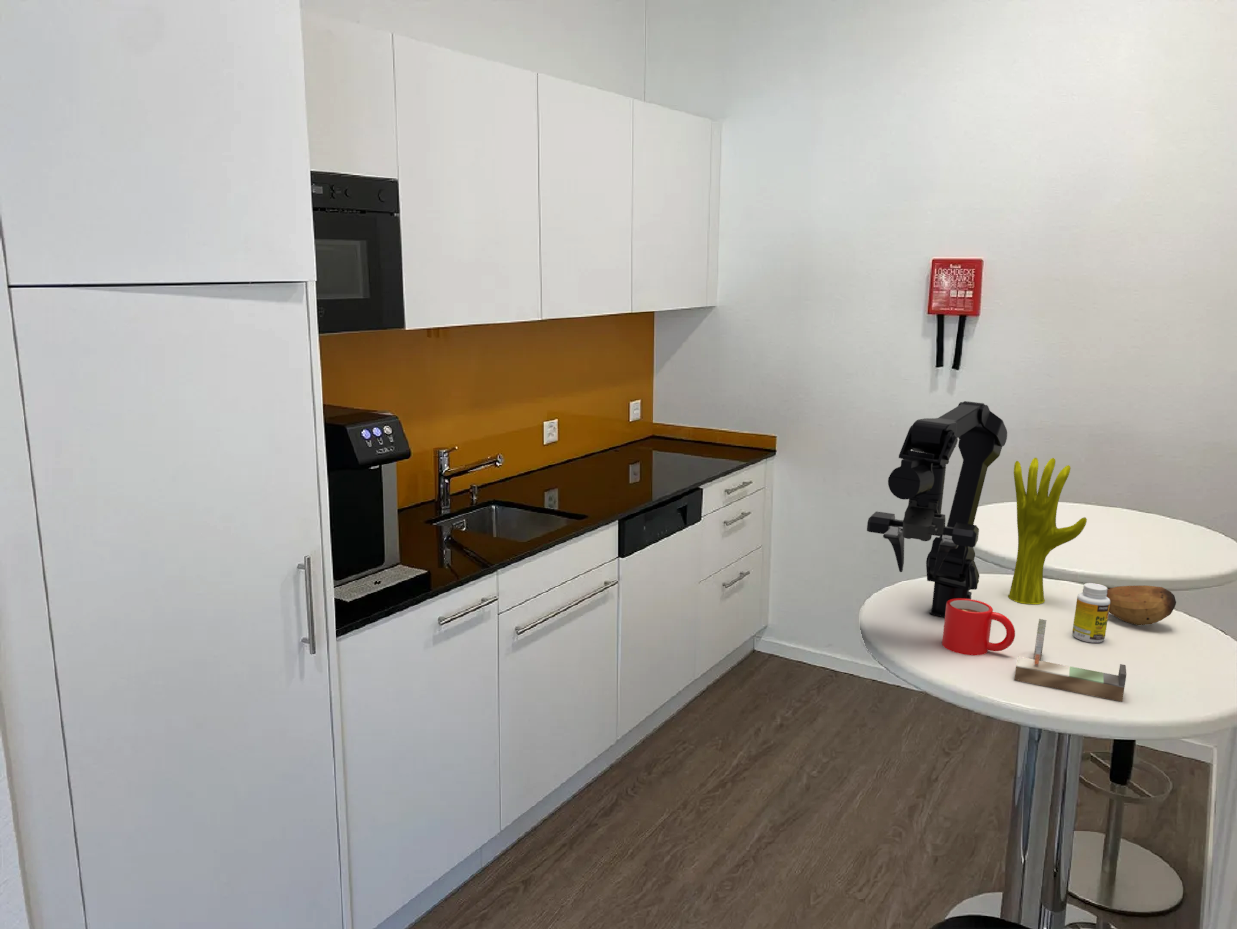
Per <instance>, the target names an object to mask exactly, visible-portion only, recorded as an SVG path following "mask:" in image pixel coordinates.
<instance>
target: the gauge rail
mask: <svg viewBox="0 0 1237 929" xmlns="http://www.w3.org/2000/svg"><path fill="white" fill-rule="evenodd" d="M1015 664H1016V666H1015V671H1014V681H1017V682H1023V683H1027V684H1032V685H1037V686H1040V687H1041V686H1043V687H1047V688H1052V689H1056V690H1063V691H1067V692H1072V693H1076V694H1081V695H1087V696H1092V697H1097V698H1101V699H1107V700H1111V701H1116V702H1123V700H1124V694H1125V687H1126V682H1127V666H1126V664H1123V663H1120V664H1119V668H1118V669H1119V670H1118V675H1117V674H1113V673H1107V672H1102V671H1096V670H1091V669H1086V668H1083V667H1082V668H1081V667H1075V666H1070V665H1064V664H1060V663H1056V662H1050V661H1049V662H1048V661H1043V660H1041V661H1040V660H1039V664H1035V660H1034V658H1028V657H1023V656H1017V659H1016V663H1015Z"/></svg>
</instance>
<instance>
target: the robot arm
mask: <svg viewBox="0 0 1237 929" xmlns="http://www.w3.org/2000/svg"><path fill="white" fill-rule="evenodd" d="M989 407H990V406H989V405H988V404H985V403H983V402H974V401H961V402H959V403H958V405H957V406H956V407H954V408H952V409H951V410H949V411H947V412H946V413H944V414H943V415H940V416H939V417H936V418H920V419H917V420H915V421H914V422H913V424H912V425H911V426H910V427H909V429H908V431H907V434H906V437H905V439H904V442H903V444H902V446H901V448H900V452H899V454H898V459H901V461H900V466H898V467H896V468H894V469H893V470H892V471H891V472H890V474H889V476H888V479H887V484H888V486H887V487H888V488H889V490H890V493H892V494H893V496H894V497H896V498H898V499H899V500H908V505H907V507H906V510H905V512H904V517H903V519H896V516H895V513H891V512H890V513H889V512H883V511H878V510H877V511H875V512H874V513H873V514H871V515H870V516H869V517H868V519H867V525H866V531H867V533H875V534H881V535H882V538H883V539H884V540H885V539H886V540H888V541H889V543H890V544H891V547H892V549H893V552H894V555H895V559H896V563H897V568H898V570H899V571H898V572H900V573H902V572H904V571H903V570H904V563H905V539H907V540H911V539H915V540H919V541H921V542H929V541H931V539H932V536H936V537H934V539H933V540H932V544H931V549H930V551H929V552H928V554H927V557H926V561H925V564H926V565H925V566H926V568H925V570H926V581H927V582H932V583H933V582H934V585H933V592H932V593H933V594H932V602H931V603H932V604H931V609H930V611H929V615H931V616H937V617H943V618H945V611H946V603H947V601H948V600H950V599H956V598H964V599H972V594H973V592H972V591H973V590H977V589H978V585H979V582H980V581H979V580H980V573H979V570H978V567H977V564H976V562H975V556H976V551H975V549H974V548H975V547H976V546H977V542H978V540H979V533H980V529H979V527H978V526H977V525H975V524H974V523H975V520H976V517H977V512H978V507H979V503H980V499H981V495H982V491H983V488H984V484H985V480H986V476H987V471H988V468H989V467H990V466H992V464H993V463H994V462H995V461H996V460H997V459H998V458H999V457H1000V456H1001V452H1002V450H1003V449H1002V448H1003V447H1004V446H1005V445H1006V442H1007V440H1008V430H1007V427H1006V425H1005V423H1004V420H1003V419H1001V418H1000V417H999V415H996V414H995V413H994V412H992V411H991V410H990V408H989ZM957 444H958V446H957ZM957 447H958V450H959V452H960V455H961V458H962V465H961V469H960V472H959V476H958V480H957V483H956V488H955V491H954V492H955V493H954V496H953V500H952V504H951V508H950V512H949V516H948V520H947V524H946V514H943V513H942V506H943V499H944V496H943V495H944V488H945V479H946V469H947V465H948V464H949V463H950V461H949V460H950V458H951V457H952V454H953V452H954V450H955V449H956V448H957ZM971 590H972V591H971Z"/></svg>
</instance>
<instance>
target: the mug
mask: <svg viewBox="0 0 1237 929" xmlns="http://www.w3.org/2000/svg"><path fill="white" fill-rule="evenodd" d="M992 621H996V622H998V623H1000V624H1001V625H1002V626H1003V627H1004V629H1005V631H1006V634H1005V638H1003V639H1002V641H1000V642H990V639H991V638H990V636H991V627H992ZM942 630H943V631H942V641H941V645H942V646H943V648H945V649H946V650H948V651H950V652H952V653H956V654H961V655H965V656H982V655H985V654H988V652H1001V651H1003V650H1006V649H1008V648H1009V647H1010V646H1011V645H1012V644H1013V643H1014V641H1015V637H1016V629H1015V626H1014V625H1013V623H1012V621H1011V620H1010V619H1009V617H1007V616H1006V615H1005V614H1002V613H999V612H996V611H994V608H993V607H992V606H991V605H990V604H989V603H986V602H984V601H980V600H977V599H972V598H971V599H964V598H956V599H950V600H948V601H947V603H946V611H945V617H944V623H943V629H942Z"/></svg>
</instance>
